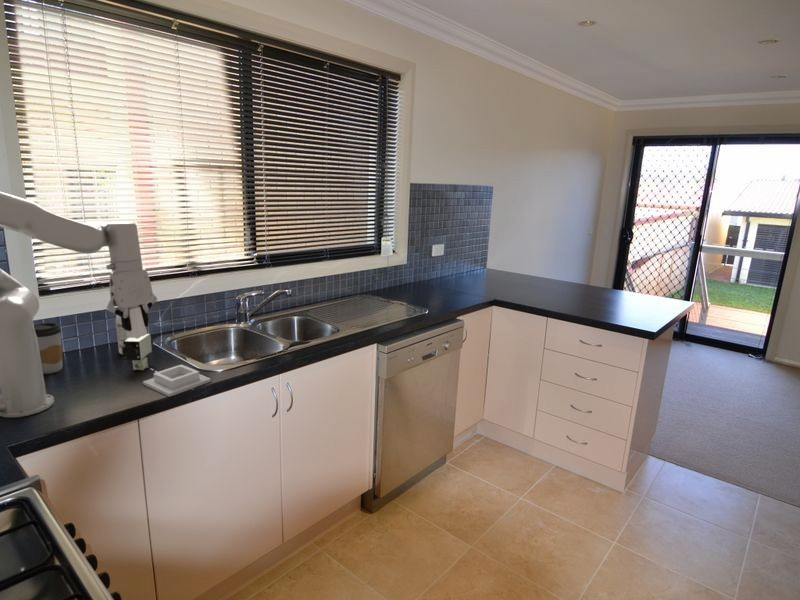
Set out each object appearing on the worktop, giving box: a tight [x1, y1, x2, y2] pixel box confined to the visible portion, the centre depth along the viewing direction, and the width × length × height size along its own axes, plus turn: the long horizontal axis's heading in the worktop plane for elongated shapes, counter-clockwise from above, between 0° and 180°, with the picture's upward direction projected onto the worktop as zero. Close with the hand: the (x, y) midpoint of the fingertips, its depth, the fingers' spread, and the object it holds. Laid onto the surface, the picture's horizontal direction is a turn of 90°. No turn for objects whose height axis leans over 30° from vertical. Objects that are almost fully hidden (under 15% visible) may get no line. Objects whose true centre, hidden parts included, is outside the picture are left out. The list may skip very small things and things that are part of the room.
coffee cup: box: [34, 322, 64, 375], centre depth 156 cm, size 8×8×15 cm
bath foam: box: [115, 314, 128, 355], centre depth 174 cm, size 7×7×20 cm
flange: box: [142, 364, 212, 398], centre depth 152 cm, size 14×14×4 cm
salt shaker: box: [127, 305, 148, 338], centre depth 140 cm, size 5×5×11 cm
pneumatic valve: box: [122, 332, 154, 371], centre depth 161 cm, size 6×12×12 cm, turn 2°
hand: (136, 327), depth 141 cm, fingers closed on salt shaker, 4 cm apart
